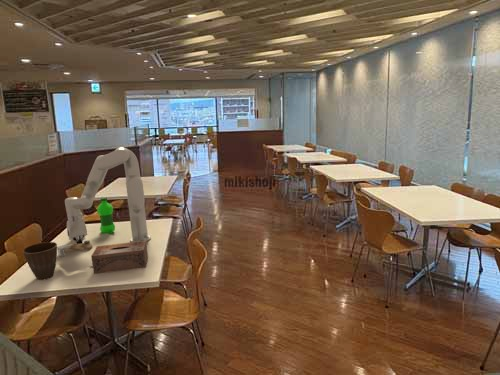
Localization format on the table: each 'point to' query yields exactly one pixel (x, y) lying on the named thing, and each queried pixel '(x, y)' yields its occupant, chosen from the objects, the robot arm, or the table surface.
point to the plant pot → (42, 259)
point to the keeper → (61, 248)
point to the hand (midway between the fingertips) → (80, 246)
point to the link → (80, 246)
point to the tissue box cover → (119, 257)
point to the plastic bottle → (106, 216)
